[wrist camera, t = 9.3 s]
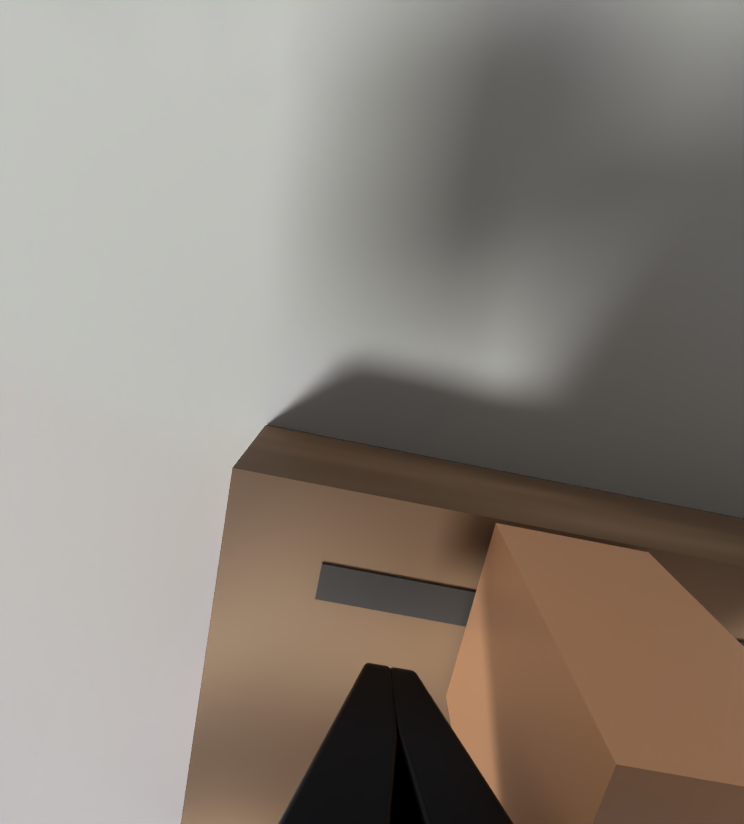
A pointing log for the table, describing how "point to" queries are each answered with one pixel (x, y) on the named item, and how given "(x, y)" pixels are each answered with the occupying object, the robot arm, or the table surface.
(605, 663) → the terracotta fader
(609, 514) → the board
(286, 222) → the table surface
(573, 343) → the table surface
